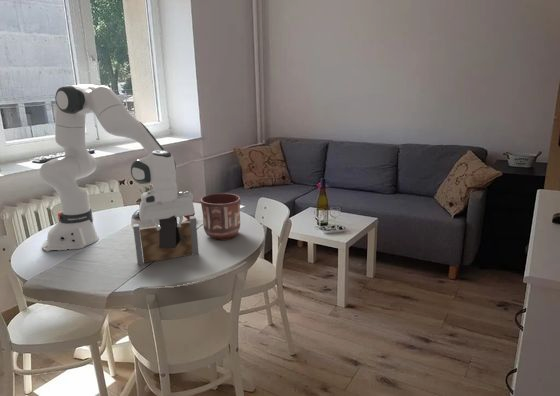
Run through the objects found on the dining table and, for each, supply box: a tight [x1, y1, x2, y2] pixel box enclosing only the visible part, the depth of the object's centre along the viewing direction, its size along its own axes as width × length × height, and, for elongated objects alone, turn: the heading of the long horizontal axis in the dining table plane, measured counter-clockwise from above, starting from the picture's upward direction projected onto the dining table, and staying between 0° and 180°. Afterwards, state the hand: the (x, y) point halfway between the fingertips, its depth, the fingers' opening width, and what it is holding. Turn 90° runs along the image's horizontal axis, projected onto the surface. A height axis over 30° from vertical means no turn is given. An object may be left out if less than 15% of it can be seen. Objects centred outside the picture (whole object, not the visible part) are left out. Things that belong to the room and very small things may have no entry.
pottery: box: [200, 192, 241, 241], centre depth 192 cm, size 18×18×18 cm
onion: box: [183, 211, 196, 221], centre depth 215 cm, size 6×6×8 cm
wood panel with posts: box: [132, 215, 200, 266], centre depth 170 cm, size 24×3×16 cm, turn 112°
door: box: [139, 220, 193, 264], centre depth 169 cm, size 19×3×14 cm, turn 112°
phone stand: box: [158, 215, 181, 248], centre depth 162 cm, size 9×6×12 cm, turn 178°
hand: (168, 228), depth 162 cm, fingers closed on phone stand, 6 cm apart
